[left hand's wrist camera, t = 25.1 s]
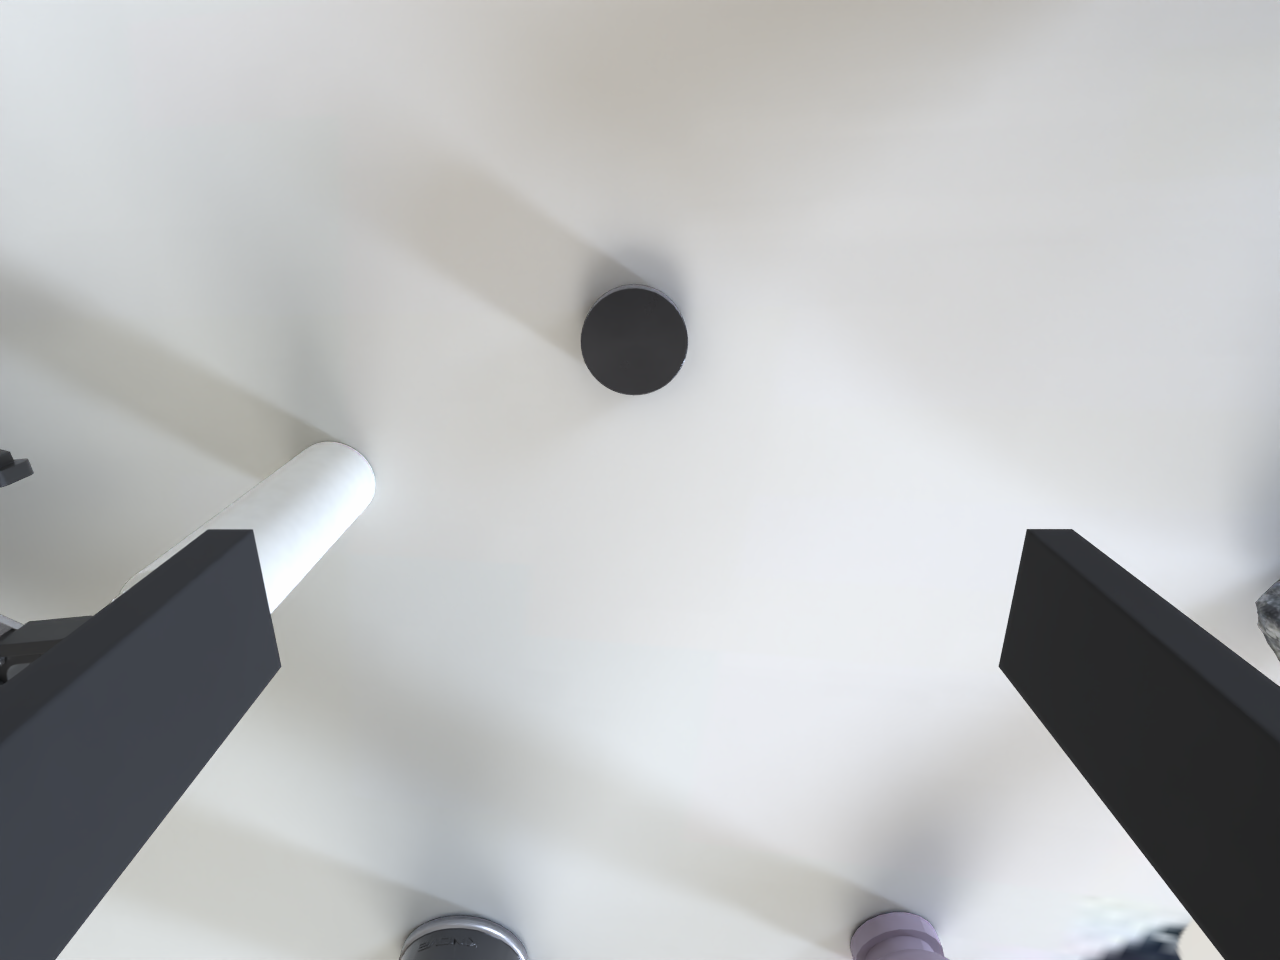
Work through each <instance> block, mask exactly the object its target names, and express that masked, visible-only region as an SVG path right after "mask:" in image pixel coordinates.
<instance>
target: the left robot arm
mask: <svg viewBox="0 0 1280 960" xmlns="http://www.w3.org/2000/svg"><path fill="white" fill-rule="evenodd" d="M280 668H281V663H280V658H279V653H278V648H277V643H276V639H275V634H274V629H273V624H272V619H271V614H270V609H269V604H268V600H267V595H266V590H265V585H264V580H263V575H262V570H261V565H260V561H259V556H258V551H257V546H256V541H255V536H254V531H253V529H208V530H206V531H205V532H204V533H202V534H201V535H200V536H198V537H197V538H196V539H194V540H193V541H192V542H190V543H189V544H188V545H187V546H185V547H184V548H183V549H181V550H180V551H179V552H177V553H176V554H175V555H173V556H172V557H171V558H169V559H168V560H167V561H165V562H164V563H163V564H161V565H160V566H159V567H158V568H156V569H155V570H154V571H152V572H151V573H150V574H148V575H147V576H146V577H144V578H143V579H142V580H140V581H139V582H138V583H136V584H135V585H134V586H132V587H131V588H130V589H129V590H127V591H126V592H125V593H123V594H122V595H121V596H119V597H118V598H117V599H115V600H114V601H113V602H111V603H110V604H109V605H107V606H106V607H105V608H103V609H102V610H101V611H100V612H98V613H97V614H96V615H94V616H93V617H92V618H90V619H89V620H88V621H86V622H85V623H84V624H82V625H81V626H80V627H78V628H77V629H76V630H74V631H73V632H72V633H71V634H69V635H68V636H67V637H65V638H64V639H63V640H61V641H60V642H59V643H57V644H56V645H55V646H53V647H52V648H51V649H49V650H48V651H47V652H45V653H44V654H43V655H42V656H40V657H39V658H38V659H36V660H35V661H34V662H32V663H31V664H30V665H28V666H27V667H26V668H24V669H23V670H22V671H20V672H19V673H18V674H16V675H15V676H14V677H13V678H11V679H10V680H9V681H7V682H6V683H5V684H3V685H2V686H1V687H0V960H55V959H56V958H57V957H58V955H59V954H60V953H61V951H62V950H63V949H64V948H65V946H66V945H67V944H68V942H69V941H70V940H71V939H72V937H73V936H74V935H75V933H76V932H77V931H78V929H79V928H80V927H81V926H82V924H83V923H84V922H85V920H86V919H87V918H88V916H89V915H90V914H91V913H92V911H93V910H94V909H95V907H96V906H97V905H98V904H99V902H100V901H101V900H102V898H103V897H104V896H105V894H106V893H107V892H108V891H109V889H110V888H111V887H112V885H113V884H114V883H115V881H116V880H117V879H118V878H119V876H120V875H121V874H122V872H123V871H124V870H125V869H126V867H127V866H128V865H129V863H130V862H131V861H132V859H133V858H134V857H135V856H136V854H137V853H138V852H139V850H140V849H141V848H142V846H143V845H144V844H145V843H146V841H147V840H148V839H149V837H150V836H151V835H152V834H153V832H154V831H155V830H156V828H157V827H158V826H159V824H160V823H161V822H162V821H163V819H164V818H165V817H166V815H167V814H168V813H169V811H170V810H171V809H172V808H173V806H174V805H175V804H176V802H177V801H178V800H179V799H180V797H181V796H182V795H183V793H184V792H185V791H186V789H187V788H188V787H189V786H190V784H191V783H192V782H193V780H194V779H195V778H196V776H197V775H198V774H199V773H200V771H201V770H202V769H203V767H204V766H205V765H206V764H207V762H208V761H209V760H210V758H211V757H212V756H213V754H214V753H215V752H216V751H217V749H218V748H219V747H220V745H221V744H222V743H223V741H224V740H225V739H226V738H227V736H228V735H229V734H230V732H231V731H232V730H233V729H234V727H235V726H236V725H237V723H238V722H239V721H240V719H241V718H242V717H243V716H244V714H245V713H246V712H247V710H248V709H249V708H250V706H251V705H252V704H253V703H254V701H255V700H256V699H257V697H258V696H259V695H260V693H261V692H262V691H263V690H264V688H265V687H266V686H267V684H268V683H269V682H270V681H271V679H272V678H273V677H274V675H275V674H276V673H277V671H278V670H279V669H280ZM999 668H1000V669H1001V670H1002V671H1003V673H1004V674H1005V675H1006V677H1007V678H1008V679H1009V681H1010V682H1011V683H1012V684H1013V686H1014V687H1015V688H1016V690H1017V691H1018V692H1019V694H1020V695H1021V696H1022V697H1023V699H1024V700H1025V701H1026V703H1027V704H1028V705H1029V706H1030V708H1031V709H1032V710H1033V712H1034V713H1035V714H1036V716H1037V717H1038V718H1039V719H1040V721H1041V722H1042V723H1043V725H1044V726H1045V727H1046V729H1047V730H1048V731H1049V732H1050V734H1051V735H1052V736H1053V738H1054V739H1055V740H1056V741H1057V743H1058V744H1059V745H1060V747H1061V748H1062V749H1063V751H1064V752H1065V753H1066V754H1067V756H1068V757H1069V758H1070V760H1071V761H1072V762H1073V764H1074V765H1075V766H1076V767H1077V769H1078V770H1079V771H1080V773H1081V774H1082V775H1083V776H1084V778H1085V779H1086V780H1087V782H1088V783H1089V784H1090V786H1091V787H1092V788H1093V789H1094V791H1095V792H1096V793H1097V795H1098V796H1099V797H1100V799H1101V800H1102V801H1103V802H1104V804H1105V805H1106V806H1107V808H1108V809H1109V810H1110V811H1111V813H1112V814H1113V815H1114V817H1115V818H1116V819H1117V821H1118V822H1119V823H1120V824H1121V826H1122V827H1123V828H1124V830H1125V831H1126V832H1127V834H1128V835H1129V836H1130V837H1131V839H1132V840H1133V841H1134V843H1135V844H1136V845H1137V846H1138V848H1139V849H1140V850H1141V852H1142V853H1143V854H1144V856H1145V857H1146V858H1147V859H1148V861H1149V862H1150V863H1151V865H1152V866H1153V867H1154V869H1155V870H1156V871H1157V872H1158V874H1159V875H1160V876H1161V878H1162V879H1163V880H1164V881H1165V883H1166V884H1167V885H1168V887H1169V888H1170V889H1171V891H1172V892H1173V893H1174V894H1175V896H1176V897H1177V898H1178V900H1179V901H1180V902H1181V904H1182V905H1183V906H1184V907H1185V909H1186V910H1187V911H1188V913H1189V914H1190V915H1191V916H1192V918H1193V919H1194V920H1195V922H1196V923H1197V924H1198V925H1199V927H1200V928H1201V929H1202V931H1203V932H1204V933H1205V935H1206V936H1207V937H1208V939H1209V940H1210V941H1211V942H1212V944H1213V945H1214V946H1215V948H1216V949H1217V950H1218V952H1219V953H1220V954H1221V955H1222V957H1223V958H1224V959H1225V960H1280V686H1278V685H1277V684H1275V683H1274V682H1273V681H1271V680H1270V679H1269V678H1267V677H1266V676H1265V675H1264V674H1262V673H1261V672H1260V671H1258V670H1257V669H1256V668H1254V667H1253V666H1252V665H1250V664H1249V663H1248V662H1246V661H1245V660H1244V659H1242V658H1241V657H1240V656H1238V655H1237V654H1236V653H1235V652H1233V651H1232V650H1231V649H1229V648H1228V647H1227V646H1225V645H1224V644H1223V643H1221V642H1220V641H1219V640H1217V639H1216V638H1215V637H1213V636H1212V635H1211V634H1209V633H1208V632H1207V631H1206V630H1204V629H1203V628H1202V627H1200V626H1199V625H1198V624H1196V623H1195V622H1194V621H1192V620H1191V619H1190V618H1188V617H1187V616H1186V615H1184V614H1183V613H1182V612H1180V611H1179V610H1178V609H1177V608H1175V607H1174V606H1173V605H1171V604H1170V603H1169V602H1167V601H1166V600H1165V599H1163V598H1162V597H1161V596H1159V595H1158V594H1157V593H1155V592H1154V591H1153V590H1151V589H1150V588H1149V587H1148V586H1146V585H1145V584H1144V583H1142V582H1141V581H1140V580H1138V579H1137V578H1136V577H1134V576H1133V575H1132V574H1130V573H1129V572H1128V571H1126V570H1125V569H1124V568H1122V567H1121V566H1120V565H1119V564H1117V563H1116V562H1115V561H1113V560H1112V559H1111V558H1109V557H1108V556H1107V555H1105V554H1104V553H1103V552H1101V551H1100V550H1099V549H1097V548H1096V547H1095V546H1093V545H1092V544H1091V543H1090V542H1088V541H1087V540H1086V539H1084V538H1083V537H1082V536H1080V535H1079V534H1078V533H1076V532H1075V531H1074V530H1072V529H1027V531H1026V536H1025V541H1024V546H1023V551H1022V556H1021V561H1020V565H1019V570H1018V575H1017V580H1016V585H1015V590H1014V595H1013V600H1012V604H1011V609H1010V614H1009V619H1008V624H1007V629H1006V634H1005V639H1004V643H1003V648H1002V653H1001V658H1000V663H999Z"/></svg>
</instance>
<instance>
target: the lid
mask: <svg viewBox="0 0 1280 960" xmlns="http://www.w3.org/2000/svg"><path fill="white" fill-rule="evenodd" d="M687 347H688V336H687V330H686V326H685V323H684V320H683V318H682V315H681V313H680V311H679V309H678V308H677V306H676V305H675V304H674V302H673V301H672V300H671V299H670V298H669V297H668V296H666V295H665V294H664V293H662V292H660V291H659V290H657V289H655V288H652V287H649V286H645V285H638V284H631V285H624V286H620V287H617V288H614V289H612V290H610V291H608V292H607V293H605V294H604V295H603V296H602V297H600V298H599V299H598V300H597V301H596V303H595V304H594V305H593V306H592V308H591V309H590V311H589V313H588V315H587V317H586V320H585V322H584V325H583V328H582V333H581V349H582V355H583V358H584V361H585V363H586V365H587V367H588V369H589V370H590V372H591V374H592V375H593V376H594V377H595V378H596V379H597V380H598V381H599V382H600V383H601V384H603V385H604V386H605V387H607V388H609V389H611V390H613V391H615V392H618V393H622V394H626V395H642V394H648V393H651V392H654V391H656V390H658V389H660V388H662V387H664V386H665V385H666V384H668V383H669V382H670V381H671V380H672V379H673V378H674V377H675V376H676V375H677V373H678V372H679V370H680V369H681V367H682V365H683V363H684V360H685V357H686V353H687Z"/></svg>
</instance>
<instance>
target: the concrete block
mask: <svg viewBox="0 0 1280 960" xmlns="http://www.w3.org/2000/svg"><path fill="white" fill-rule="evenodd" d="M1256 606H1257V613H1258V624H1257V625H1258V627H1259V628H1260V630H1261V631H1262V632H1263V634H1264V636H1265V638H1266V640H1267V643H1268V644H1269V646H1270V647H1271V648H1272V650H1273V651H1274V653H1275V654H1276V656H1277V658H1278V660H1279V661H1280V580H1278V581H1277V582H1276V583H1275V584H1274V585H1273V586H1272V587H1271V588H1269V589H1268V590H1267V591H1266V592H1265V593H1264V594H1263V595H1262V596H1261V597H1260V598H1259V599H1258V600H1257V601H1256Z"/></svg>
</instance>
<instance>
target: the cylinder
mask: <svg viewBox="0 0 1280 960" xmlns="http://www.w3.org/2000/svg"><path fill="white" fill-rule="evenodd" d="M374 493H375V476H374V473H373V470H372V468H371V466H370V465H369V463H368V461H367V460H366V459H365V458H364V457H363V456H362V455H361V454H360V453H359V452H358V451H356V450H355V449H353V448H352V447H349V446H347V445H345V444H342V443H338V442H320V443H316V444H314V445H311V446H309V447H308V448H306V449H305V450H304V451H302V452H301V453H300V454H298V455H297V456H295V457H294V458H293V459H291V460H290V461H289V462H287V463H286V464H285V465H283V466H282V467H281V468H279V469H278V470H277V471H275V472H274V473H273V474H271V475H270V476H268V477H267V478H266V479H264V480H263V481H262V482H260V483H259V484H258V485H256V486H255V487H254V488H252V489H251V490H250V491H248V492H247V493H246V494H244V495H243V496H241V497H240V498H239V499H237V500H236V501H235V502H233V503H232V504H231V505H229V506H228V507H227V508H225V509H224V510H223V511H221V512H220V513H218V514H217V515H216V516H214V517H213V518H212V519H210V520H209V521H208V522H206V523H205V524H204V525H202V526H201V527H200V528H198V529H197V530H196V531H194V532H193V533H191V534H190V535H189V536H187V537H186V538H185V539H183V540H182V541H181V542H179V543H178V544H177V545H175V546H174V547H173V548H171V549H170V550H169V551H167V552H166V553H164V554H163V555H162V556H160V557H159V558H158V559H156V560H155V561H154V562H152V563H151V564H150V565H148V566H147V567H146V568H144V569H143V570H141V571H140V572H139V573H137V574H136V575H135V576H133V577H132V578H131V579H130V580H129V581H128V582H127V583H126V584H125V585H124V586H123V588H122V590H121V591H120V593H119V595H118V596H117V597H115V598H114V599H113V600H112V601H111V602H113V601H114V600H115V599H117V598H118V597H119V596H121V595H122V594H123V593H125V592H126V591H127V590H129V589H130V588H131V587H132V586H134V585H135V584H136V583H138V582H139V581H140V580H142V579H143V578H144V577H146V576H147V575H148V574H150V573H151V572H152V571H154V570H155V569H156V568H158V567H159V566H160V565H161V564H163V563H164V562H165V561H167V560H168V559H169V558H171V557H172V556H173V555H175V554H176V553H177V552H179V551H180V550H181V549H183V548H184V547H185V546H187V545H188V544H189V543H190V542H192V541H193V540H194V539H196V538H197V537H198V536H200V535H201V534H202V533H204V532H205V531H206V530H208V529H253V531H254V536H255V541H256V546H257V551H258V556H259V561H260V565H261V570H262V575H263V580H264V585H265V590H266V595H267V600H268V604H269V609H270V614H271V613H272V612H273V611H274V610H275V609H276V608H277V607H278V605H279V604H280V603H281V602H282V601H283V600H284V599H285V598H286V596H287V595H288V594H289V593H290V592H291V591H292V590H293V589H294V588H295V586H296V585H297V584H298V583H299V582H300V581H301V580H302V579H303V577H304V576H305V575H306V574H307V573H308V572H309V571H310V570H311V569H312V567H313V566H314V565H315V564H316V563H317V562H318V561H319V560H320V558H321V557H322V556H323V555H324V554H325V553H326V552H327V551H328V550H329V548H330V547H331V546H332V545H333V544H334V543H335V542H336V541H337V539H338V538H339V537H340V536H341V535H342V534H343V533H344V532H345V531H346V529H347V528H348V527H349V526H350V525H351V524H352V523H353V522H354V520H355V519H356V518H357V517H358V516H359V515H360V514H361V513H362V512H363V510H364V509H365V508H366V507H367V506H368V505H369V504H370V502H371V501H372V498H373V496H374ZM111 602H110V603H111Z"/></svg>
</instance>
